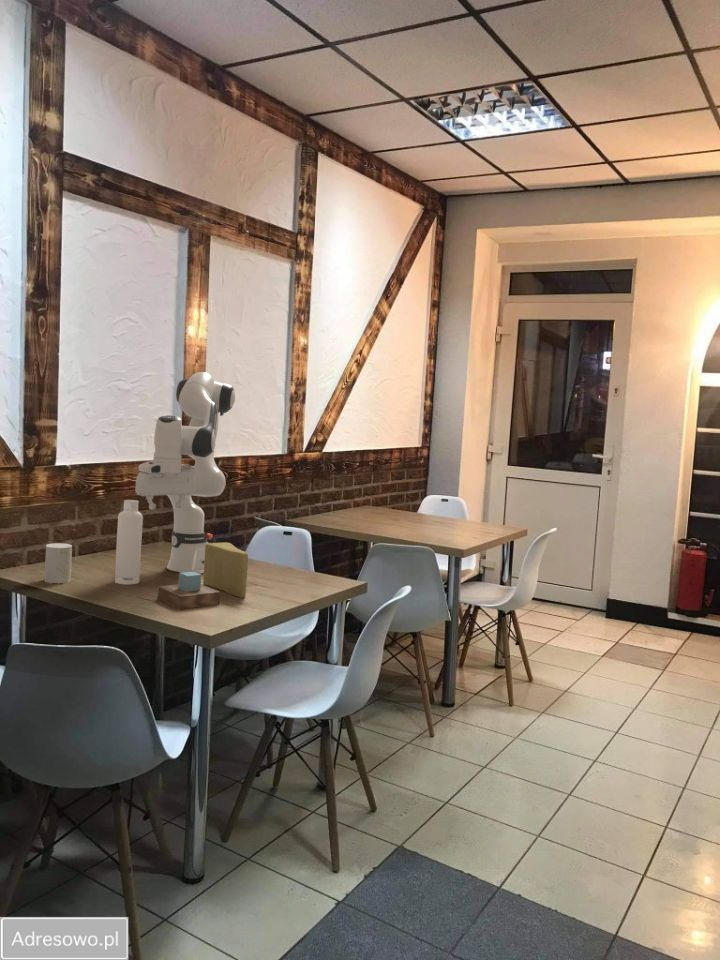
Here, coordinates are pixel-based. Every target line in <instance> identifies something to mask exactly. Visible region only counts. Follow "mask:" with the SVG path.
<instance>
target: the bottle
mask: <svg viewBox="0 0 720 960" xmlns="http://www.w3.org/2000/svg"><path fill="white" fill-rule="evenodd" d="M139 503H140V502H139V500H137V499H124V500H123V510H122V511H121V512H119V513H118V516H117V530H116V531H117V534H116V549H115V551H116V553H115V571H114V575H115V576H114V583H115V584H118V585H119V584H120V585H137V584H139V583H140V574H141V557H142V537H143V522H144V521H143V520H144V516H143V514H142V513H141V512H140V511H139Z"/></svg>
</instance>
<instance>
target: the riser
mask: <svg viewBox="0 0 720 960" xmlns="http://www.w3.org/2000/svg"><path fill="white" fill-rule="evenodd" d="M157 600H159V601H161V602H163V603H165V604H168V605H170V606H172V607H174V608H177V609H179V610H186V609H194V608H200V607H201V608H202V607H207V606H216V605H220V600H221V591H219V590H218V589H215V588H213V587H210V586H208V585H205V584H202V583H201V587H200V590H197V591H188V592H186V591H184V590H181V589H179V588H178V584H170V585H161V586H160V585H159V586H158V588H157Z"/></svg>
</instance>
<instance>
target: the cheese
mask: <svg viewBox="0 0 720 960" xmlns="http://www.w3.org/2000/svg"><path fill="white" fill-rule="evenodd" d="M248 560H249V554H248V552H246V551H244V550H241V549H240V548H237V547H236V546H235V545H233V544H232V543H231V542H208V544H206V546H205V562H204V573H203V579H202V582H203V585H204V586H207V587H210V588H213V589H216V590H220V591H223V592H225V593H227V594H230V595H232V596H235V597H237V598H240V599H243V598H246V593H247V578H248V568H249V567H248V566H249V565H248V563H249V561H248Z"/></svg>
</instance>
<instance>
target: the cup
mask: <svg viewBox="0 0 720 960" xmlns="http://www.w3.org/2000/svg"><path fill="white" fill-rule="evenodd" d="M72 553H73V545H72V544H70V543H57V542H55V543H47V544H46V545H45V559H44V560H45V561H44V562H45V563H44V582H45V583H46V582H47V584H52V583H58V584H59V583H63V584H67V582H68V583H70V582H71V581H72V579H71V578H72V577H71V576H72V575H71V574H72V560H73V559H72V558H73V557H72V555H73V554H72ZM58 584H57V585H58ZM59 585H60V584H59Z"/></svg>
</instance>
